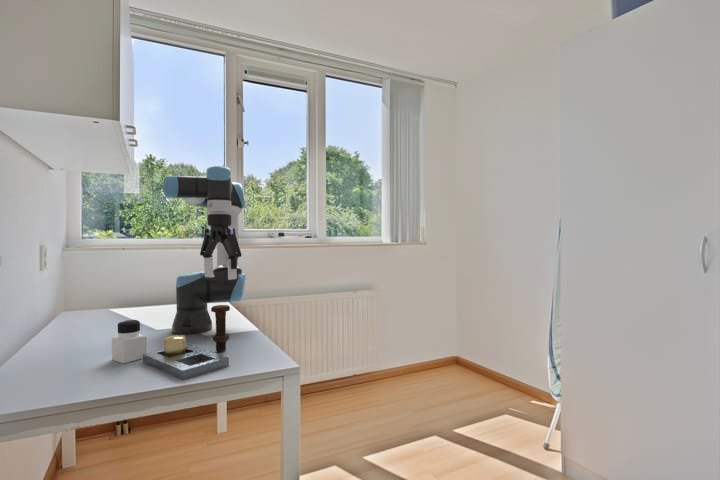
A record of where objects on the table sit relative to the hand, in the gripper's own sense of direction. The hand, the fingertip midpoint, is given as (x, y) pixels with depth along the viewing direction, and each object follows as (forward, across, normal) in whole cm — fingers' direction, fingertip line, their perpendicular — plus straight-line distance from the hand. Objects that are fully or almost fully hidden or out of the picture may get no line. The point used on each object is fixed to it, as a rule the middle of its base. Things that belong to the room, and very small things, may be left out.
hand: (220, 278), depth 132 cm
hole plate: (+24, +3, -14) cm, 28 cm away
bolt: (+25, 0, 0) cm, 25 cm away
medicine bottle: (+25, -16, -22) cm, 37 cm away
